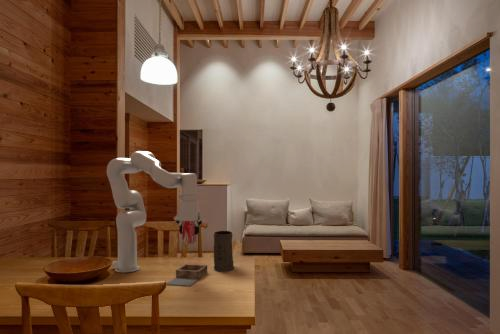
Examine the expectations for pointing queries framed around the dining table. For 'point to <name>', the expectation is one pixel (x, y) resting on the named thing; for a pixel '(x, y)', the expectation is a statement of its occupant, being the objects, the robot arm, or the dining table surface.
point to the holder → (191, 271)
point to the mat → (182, 282)
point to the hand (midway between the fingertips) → (189, 233)
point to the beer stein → (223, 251)
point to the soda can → (188, 232)
